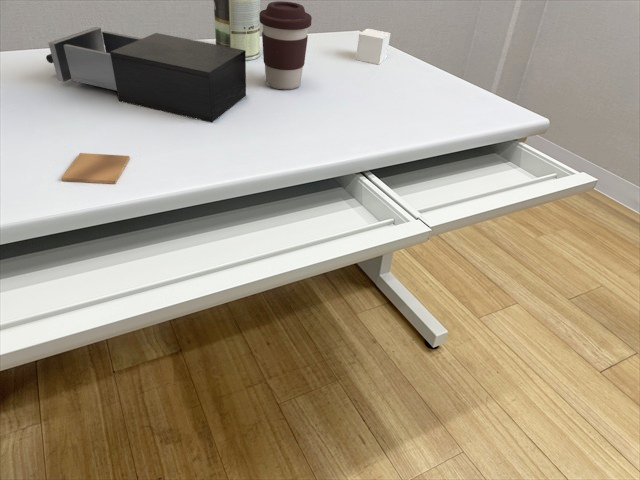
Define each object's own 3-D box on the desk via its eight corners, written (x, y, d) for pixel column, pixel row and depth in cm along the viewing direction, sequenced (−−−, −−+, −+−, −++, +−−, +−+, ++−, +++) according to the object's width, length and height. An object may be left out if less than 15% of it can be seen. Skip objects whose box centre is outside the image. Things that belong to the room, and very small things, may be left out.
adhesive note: (379, 64, 113) (383, 38, 109) (355, 59, 115) (359, 33, 111) (386, 58, 118) (390, 32, 114) (363, 53, 119) (367, 28, 115)
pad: (61, 181, 63) (60, 177, 63) (80, 155, 69) (80, 152, 69) (115, 184, 64) (114, 180, 64) (130, 158, 69) (129, 155, 69)
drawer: (38, 76, 88) (28, 38, 84) (84, 58, 97) (77, 22, 93) (140, 99, 84) (134, 60, 80) (178, 78, 93) (174, 42, 89)
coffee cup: (254, 75, 100) (254, -2, 91) (299, 74, 103) (303, -1, 94) (265, 94, 93) (266, 11, 84) (313, 92, 96) (319, 12, 87)
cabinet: (118, 100, 85) (109, 51, 79) (161, 77, 95) (156, 32, 90) (212, 122, 81) (209, 72, 76) (246, 95, 91) (245, 50, 86)
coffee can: (208, 57, 107) (204, -12, 98) (225, 44, 115) (222, -21, 106) (252, 64, 106) (252, -6, 97) (265, 50, 114) (266, -15, 105)
